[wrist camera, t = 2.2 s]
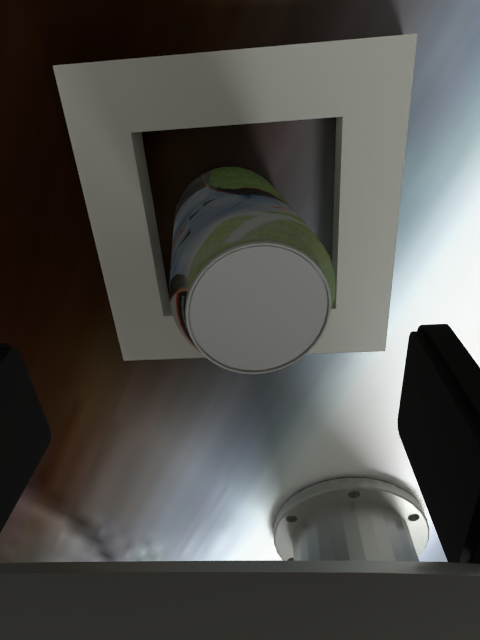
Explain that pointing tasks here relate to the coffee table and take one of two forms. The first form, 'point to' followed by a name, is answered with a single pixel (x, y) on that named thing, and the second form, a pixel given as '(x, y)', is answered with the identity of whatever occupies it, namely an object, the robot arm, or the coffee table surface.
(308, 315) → the beverage can
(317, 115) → the can holder
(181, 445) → the coffee table surface
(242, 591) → the robot arm
